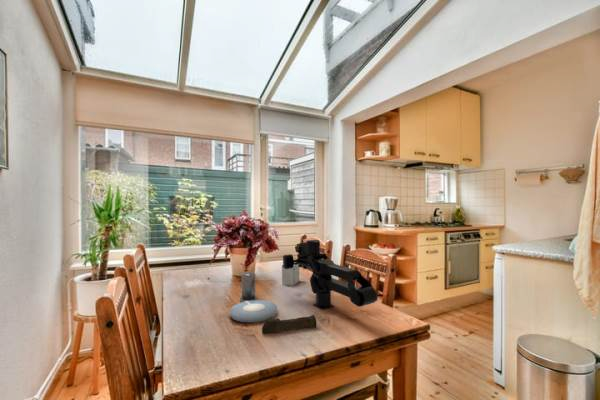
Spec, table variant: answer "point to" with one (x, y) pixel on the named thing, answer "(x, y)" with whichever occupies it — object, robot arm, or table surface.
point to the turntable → (253, 311)
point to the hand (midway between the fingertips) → (292, 257)
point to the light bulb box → (290, 275)
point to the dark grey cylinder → (248, 287)
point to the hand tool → (288, 324)
